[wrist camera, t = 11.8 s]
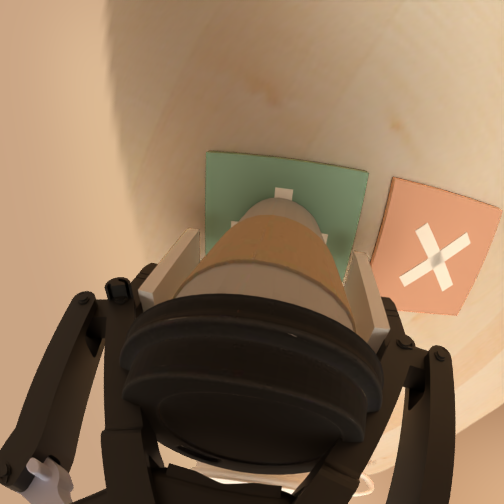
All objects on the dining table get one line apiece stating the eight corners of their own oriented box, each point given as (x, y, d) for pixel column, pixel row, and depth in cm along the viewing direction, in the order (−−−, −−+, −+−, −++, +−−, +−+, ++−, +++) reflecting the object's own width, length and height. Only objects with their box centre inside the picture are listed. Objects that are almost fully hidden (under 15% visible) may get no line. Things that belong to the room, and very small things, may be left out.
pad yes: (208, 150, 19) (205, 152, 18) (366, 171, 17) (369, 173, 17) (208, 280, 24) (205, 284, 24) (335, 299, 23) (335, 304, 22)
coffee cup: (212, 275, 23) (133, 444, 10) (221, 160, 18) (57, 302, 5) (326, 297, 22) (327, 484, 9) (360, 186, 17) (458, 380, 5)
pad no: (392, 176, 17) (395, 179, 17) (498, 208, 16) (503, 211, 15) (357, 301, 23) (358, 307, 22) (454, 311, 22) (457, 316, 21)
